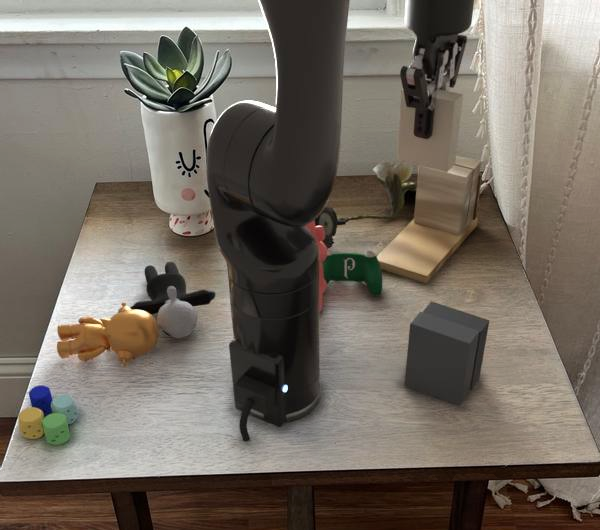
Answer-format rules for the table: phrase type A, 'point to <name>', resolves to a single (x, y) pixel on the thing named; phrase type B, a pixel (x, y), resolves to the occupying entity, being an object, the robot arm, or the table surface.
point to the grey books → (445, 352)
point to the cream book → (444, 135)
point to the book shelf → (420, 251)
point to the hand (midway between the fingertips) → (428, 131)
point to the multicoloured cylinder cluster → (52, 424)
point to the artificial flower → (396, 188)
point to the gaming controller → (354, 269)
